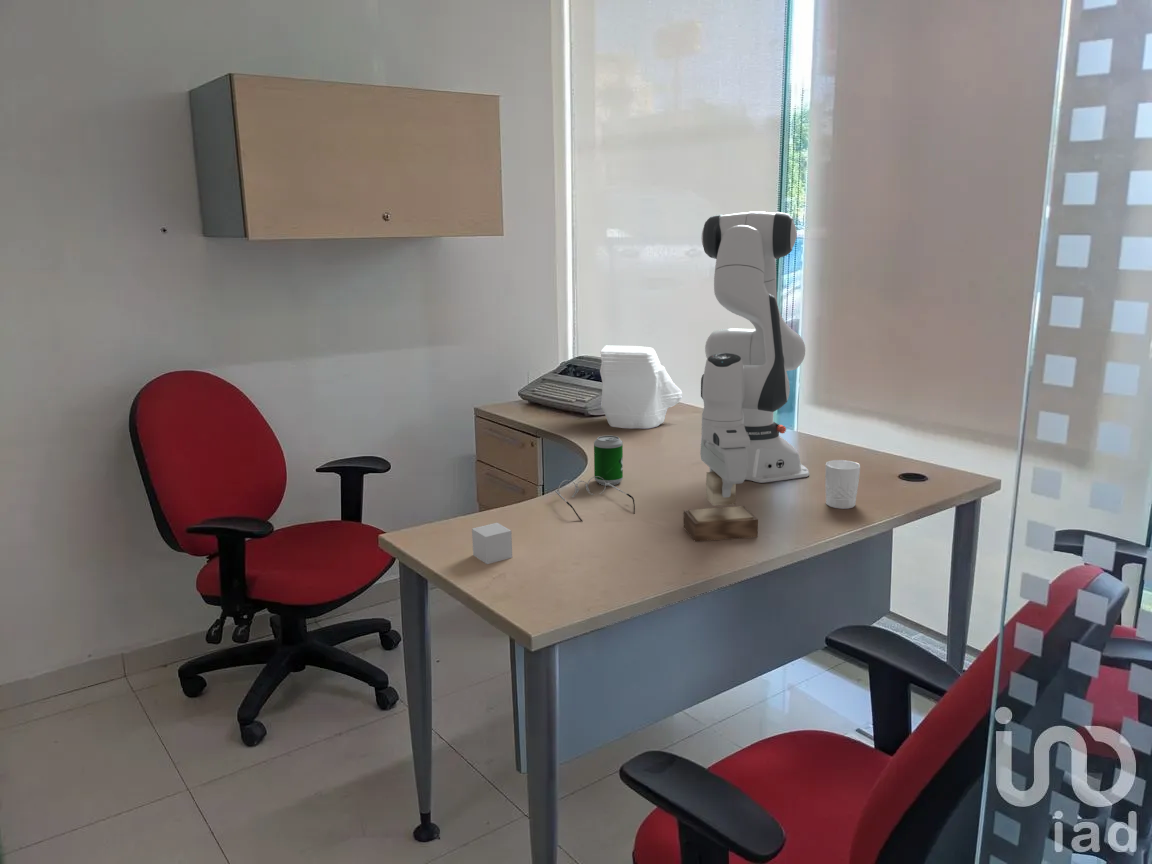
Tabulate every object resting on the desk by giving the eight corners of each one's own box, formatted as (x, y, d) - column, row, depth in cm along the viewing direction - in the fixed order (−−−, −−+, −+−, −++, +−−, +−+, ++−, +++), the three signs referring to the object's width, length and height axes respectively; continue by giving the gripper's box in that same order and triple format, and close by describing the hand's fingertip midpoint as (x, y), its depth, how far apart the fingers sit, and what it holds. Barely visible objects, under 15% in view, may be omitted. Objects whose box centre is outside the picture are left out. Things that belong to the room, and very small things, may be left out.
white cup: (840, 511, 200) (842, 471, 197) (816, 502, 206) (818, 462, 204) (864, 506, 203) (867, 466, 201) (840, 497, 210) (843, 458, 207)
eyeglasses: (610, 492, 218) (609, 473, 217) (640, 515, 201) (640, 494, 200) (550, 500, 213) (550, 481, 212) (576, 524, 196) (576, 503, 195)
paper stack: (609, 415, 300) (608, 343, 294) (683, 421, 290) (684, 346, 284) (586, 429, 281) (585, 352, 275) (665, 436, 271) (665, 356, 265)
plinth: (743, 522, 194) (743, 504, 193) (757, 536, 185) (758, 518, 184) (683, 527, 192) (683, 509, 190) (695, 541, 183) (695, 522, 182)
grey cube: (486, 564, 173) (485, 537, 172) (473, 555, 178) (471, 528, 176) (512, 557, 176) (511, 530, 175) (498, 549, 181) (497, 522, 180)
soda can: (620, 487, 221) (620, 442, 218) (592, 485, 222) (591, 441, 219) (624, 478, 228) (624, 435, 225) (597, 477, 229) (596, 434, 226)
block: (727, 497, 189) (728, 471, 188) (735, 504, 184) (736, 477, 183) (705, 498, 188) (706, 472, 187) (712, 505, 184) (713, 478, 182)
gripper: (694, 420, 192) (693, 479, 195) (723, 442, 172) (721, 507, 176) (721, 418, 193) (719, 477, 196) (753, 440, 173) (750, 505, 177)
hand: (720, 491), depth 186 cm, fingers closed on block, 5 cm apart
